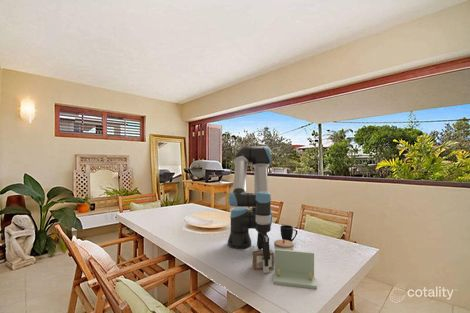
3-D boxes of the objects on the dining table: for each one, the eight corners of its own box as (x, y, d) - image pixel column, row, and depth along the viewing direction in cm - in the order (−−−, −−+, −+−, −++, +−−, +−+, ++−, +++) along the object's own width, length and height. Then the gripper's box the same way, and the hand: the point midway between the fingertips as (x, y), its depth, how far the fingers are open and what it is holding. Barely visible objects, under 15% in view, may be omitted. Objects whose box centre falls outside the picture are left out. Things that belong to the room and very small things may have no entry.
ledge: (273, 283, 100) (273, 258, 100) (274, 271, 110) (274, 248, 111) (316, 289, 96) (316, 262, 96) (313, 276, 106) (313, 252, 107)
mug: (292, 245, 144) (292, 230, 145) (277, 240, 154) (277, 226, 154) (300, 242, 150) (300, 228, 150) (285, 237, 159) (285, 224, 159)
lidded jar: (281, 262, 121) (281, 244, 121) (270, 254, 131) (270, 238, 131) (297, 258, 125) (297, 241, 125) (285, 251, 135) (285, 235, 135)
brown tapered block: (254, 270, 112) (254, 253, 112) (252, 266, 116) (252, 250, 116) (273, 269, 113) (273, 253, 113) (271, 265, 117) (271, 249, 117)
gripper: (277, 229, 104) (277, 278, 104) (264, 216, 127) (264, 256, 126) (261, 229, 103) (261, 279, 103) (251, 217, 126) (251, 257, 126)
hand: (263, 266), depth 115 cm, fingers open, 10 cm apart
